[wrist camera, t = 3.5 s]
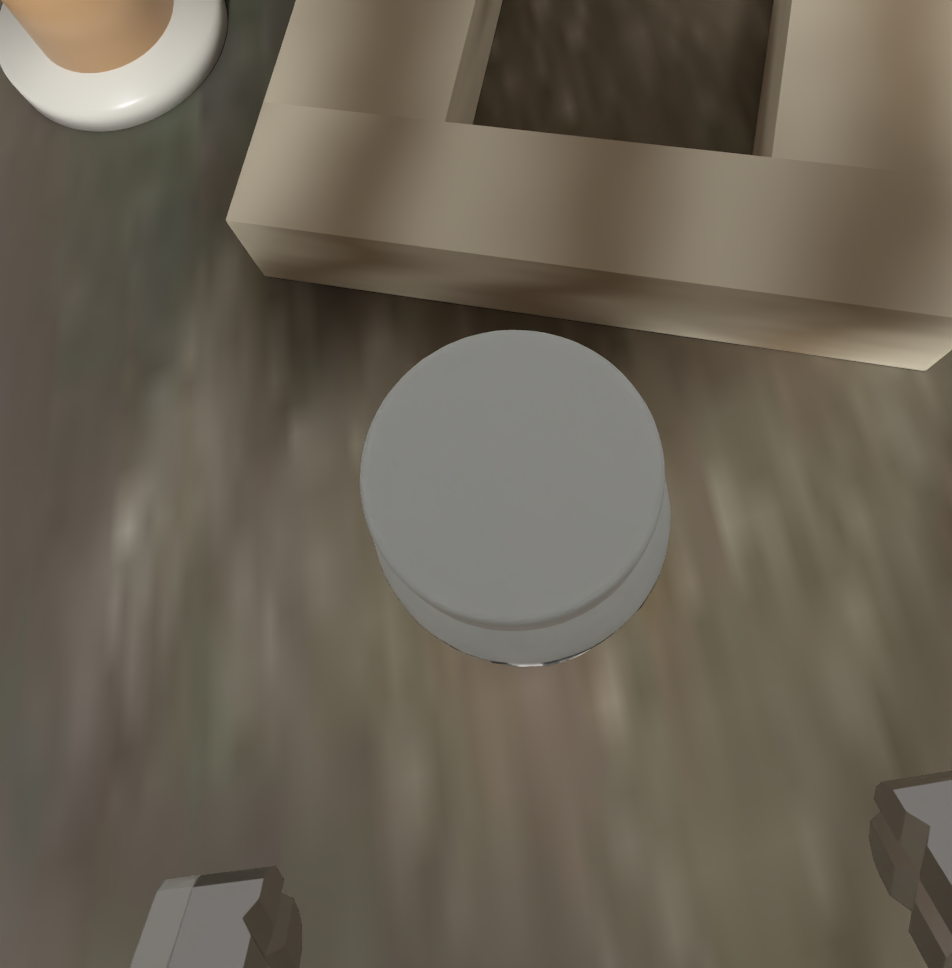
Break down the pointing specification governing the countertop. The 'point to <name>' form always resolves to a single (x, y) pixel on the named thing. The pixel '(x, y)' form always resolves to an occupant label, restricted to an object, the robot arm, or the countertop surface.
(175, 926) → the robot arm
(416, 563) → the pill bottle
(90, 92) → the spool
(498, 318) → the countertop surface
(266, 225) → the notched board
